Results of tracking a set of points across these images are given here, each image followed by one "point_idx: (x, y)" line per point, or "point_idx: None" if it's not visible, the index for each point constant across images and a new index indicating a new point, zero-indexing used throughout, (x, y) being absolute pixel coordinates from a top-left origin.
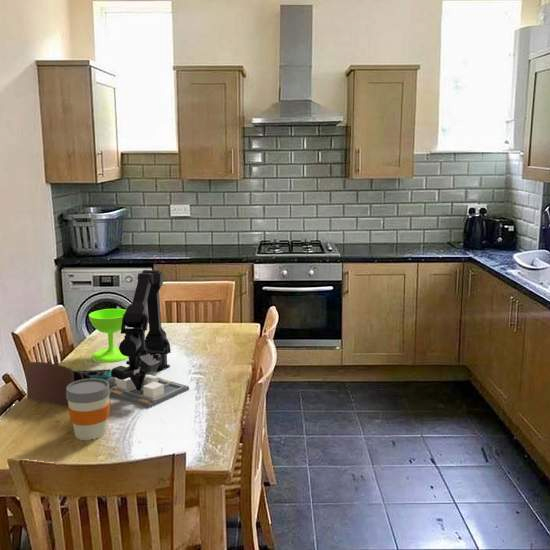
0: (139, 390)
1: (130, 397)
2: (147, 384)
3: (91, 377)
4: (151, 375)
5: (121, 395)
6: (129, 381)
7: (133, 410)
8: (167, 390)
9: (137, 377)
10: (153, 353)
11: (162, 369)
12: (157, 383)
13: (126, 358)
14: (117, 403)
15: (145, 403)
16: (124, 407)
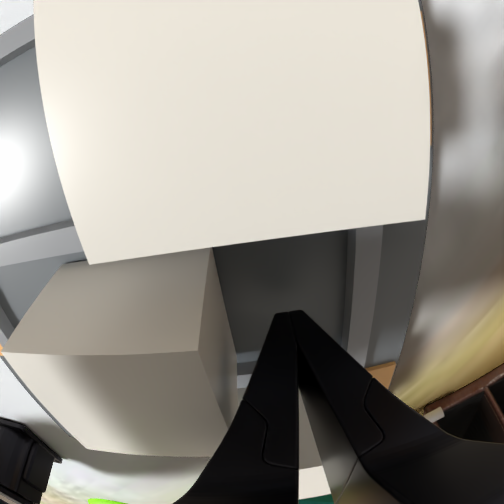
0: (239, 339)
1: (410, 264)
2: (308, 223)
3: (302, 501)
4: (64, 424)
5: (403, 342)
6: (312, 449)
7: (497, 76)
8: (17, 144)
9: (456, 448)
10: (22, 499)
11: (8, 422)
12: (81, 99)
13: (108, 501)
14: (463, 275)
15: (423, 25)
16: (495, 179)
